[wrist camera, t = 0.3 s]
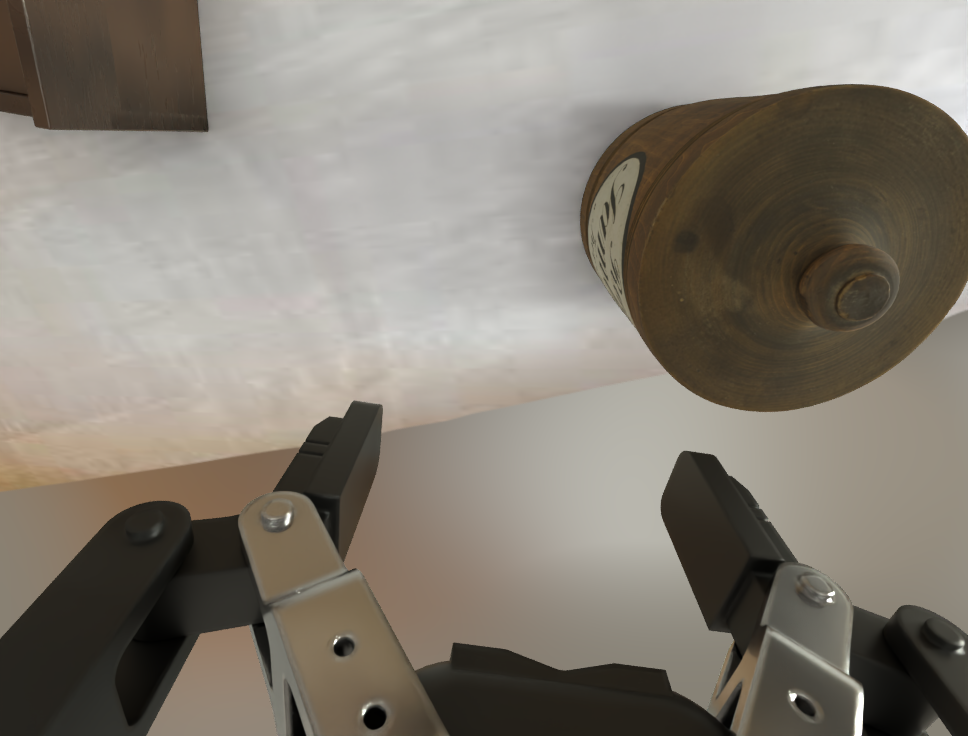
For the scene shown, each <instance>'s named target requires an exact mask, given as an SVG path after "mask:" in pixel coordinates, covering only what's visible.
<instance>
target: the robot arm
mask: <svg viewBox="0 0 968 736" xmlns="http://www.w3.org/2000/svg"><path fill="white" fill-rule="evenodd" d="M382 414H383V407H382V405H380V404H373V403H366V402H360V401H353V402H352V403H351V405H350V407H349V409H348V411H347V412H346V414H345V416H344V418H337V417H330V416H329V417H328V418H326V419H325V420H323V421H322V422H320V423H319V424H317V425H316V426H314V427H313V429H312V431H311V432H310V434H309V435H308V437H307V438H306V442H304V443H303V445H302V446H301V448H300V450H299V453H297V454H296V456H295V457H294V459H293V461H292V462H291V464H290V465H289V467H288V468H287V470H286V472H285V473H284V475H283V476H282V478H281V479H280V481H279V483H278V484H277V486H276V487H275V489H274V490H273V492H272V493H268V494H265V495H262V496H260V497H258V498H256V499H254V500H253V501H251V502H250V503H249V504H247V505H246V506H245V507H244V509H243V510H242V511H241V513H240V514H239V515H234V516H230V517H222V518H213V519H203V520H193V521H191V517H190V513H189V511H188V510H187V509H186V508H185V507H184V506H182V505H181V504H178V503H175V502H170V501H153V502H147V503H143V504H139V505H136V506H133V507H130V508H129V509H126V510H124V511H122V512H120V513H119V514H117V515H116V516H114V517H113V518H112V519H110V520H109V521H108V522H107V523H106V524H105V525H104V526H103V527H102V528H101V529H100V530H99V532H98V533H97V534H96V535H95V536H94V537H93V538H92V539H91V540H90V542H88V543H87V545H86V546H85V547H84V548H83V549H82V550H81V551H80V552H79V553H78V554H77V556H76V557H75V558H74V559H73V560H72V561H71V562H70V563H69V564H68V565H67V567H66V568H65V569H64V570H63V571H62V572H61V573H60V574H59V575H58V576H57V578H55V580H54V581H53V582H52V583H51V584H50V585H49V586H48V587H47V588H46V589H45V591H44V592H43V593H42V594H41V595H40V596H39V597H38V598H37V599H36V600H35V601H34V603H33V604H32V605H31V606H30V607H29V608H28V609H27V610H26V611H25V613H23V615H22V616H21V617H20V618H19V619H18V620H17V621H16V622H15V623H14V624H13V626H12V627H11V628H10V629H9V630H8V631H7V632H6V633H5V634H4V635H3V636H2V638H1V639H0V736H146V735H147V733H148V731H149V729H150V727H151V725H152V723H153V721H154V720H155V718H156V716H157V714H158V712H159V710H160V708H161V707H162V705H163V703H164V701H165V699H166V697H167V695H168V693H169V691H170V690H171V688H172V686H173V684H174V682H175V680H176V678H177V676H178V674H179V672H180V671H181V669H182V667H183V665H184V663H185V661H186V659H187V657H188V655H189V654H190V652H191V650H192V648H193V646H194V644H195V642H196V640H197V639H198V637H199V635H200V634H201V633H206V632H212V631H218V630H223V629H229V628H235V627H241V626H247V625H249V627H250V631H251V635H252V638H253V642H254V645H255V649H256V652H257V656H258V659H259V663H260V666H261V670H262V673H263V676H264V680H265V684H266V687H267V690H268V694H269V697H270V701H271V705H272V709H273V714H274V719H275V725H276V730H277V735H278V736H929V735H928V734H927V732H926V731H925V730H926V729H927V728H928V727H929V726H930V725H931V724H932V723H933V722H934V721H935V720H936V719H937V718H938V717H939V718H940V719H941V721H942V722H943V723H944V725H945V726H946V728H947V729H948V731H949V732H950V734H951V735H952V736H968V635H967V634H966V633H964V632H963V631H962V630H961V629H960V628H958V627H957V626H956V625H954V624H953V623H951V622H950V621H948V620H947V619H945V618H943V617H941V616H940V615H938V614H936V613H934V612H932V611H930V610H927V609H924V608H921V607H918V606H913V605H904V606H901V607H900V608H898V610H897V611H896V612H895V613H894V615H893V616H892V617H891V618H890V619H888V618H885V617H882V616H879V615H877V614H874V613H872V612H869V611H867V610H864V609H861V608H859V607H856V606H853V605H852V602H851V600H850V599H849V597H848V595H847V594H846V593H845V592H844V590H843V589H842V588H841V587H840V586H839V585H838V584H837V583H836V582H834V581H833V580H832V579H831V578H829V577H828V576H826V575H825V574H823V573H822V572H820V571H818V570H816V569H814V568H812V567H810V566H808V565H805V564H801V563H798V561H797V560H796V558H795V557H794V555H793V554H792V552H791V551H790V549H789V548H788V547H787V545H786V544H785V542H784V541H783V539H782V538H781V537H780V535H779V534H778V532H777V531H776V529H775V528H774V526H773V525H772V524H771V522H768V518H767V516H766V515H765V514H764V512H763V511H762V509H759V505H758V503H757V502H756V500H755V499H754V498H753V496H752V495H751V493H750V492H749V491H748V490H747V489H746V488H745V487H744V486H743V485H741V484H740V483H739V482H738V481H737V480H736V479H734V478H733V477H732V476H728V474H727V473H726V471H725V470H724V468H723V467H722V465H721V464H720V462H719V461H718V459H717V458H716V457H715V456H714V455H711V454H704V453H697V452H691V451H683V452H682V453H681V454H680V455H679V457H678V459H677V461H676V464H675V466H674V469H673V471H672V473H671V476H670V478H669V480H668V483H667V486H666V488H665V490H664V493H663V495H662V499H661V515H662V519H663V521H664V523H665V526H666V528H667V531H668V533H669V536H670V538H671V540H672V542H673V545H674V548H675V550H676V552H677V555H678V557H679V559H680V562H681V564H682V567H683V569H684V571H685V574H686V576H687V578H688V581H689V583H690V586H691V588H692V591H693V593H694V595H695V598H696V600H697V602H698V605H699V607H700V610H701V612H702V614H703V616H704V619H705V622H706V624H707V626H708V629H709V630H711V631H718V632H726V633H731V634H732V636H733V639H734V641H733V643H732V644H731V646H730V648H729V650H728V652H727V655H726V658H725V661H724V663H723V666H722V669H721V672H720V675H719V678H718V680H717V683H716V686H715V689H714V692H713V694H712V697H711V700H710V703H709V706H708V709H707V711H706V710H705V709H703V708H702V707H701V706H699V705H698V704H696V703H694V702H693V701H691V700H690V699H688V698H686V697H684V696H682V695H680V694H678V693H676V692H674V691H672V690H671V686H670V683H669V680H668V677H667V673H666V670H662V669H654V668H646V667H638V666H631V665H623V664H615V663H614V664H607V665H600V666H594V667H587V668H581V669H574V670H567V671H563V670H558V669H555V668H552V667H550V666H547V665H544V664H542V663H540V662H537V661H535V660H532V659H529V658H527V657H524V656H522V655H519V654H516V653H514V652H512V651H509V650H506V649H499V648H491V647H483V646H476V645H469V644H460V643H453V647H452V652H451V657H450V661H444V662H439V663H435V664H432V665H428V666H425V667H423V668H421V669H418V670H416V671H414V669H413V667H412V665H411V663H410V662H409V659H408V658H407V656H406V654H405V652H404V650H403V649H402V646H401V645H400V643H399V641H398V639H397V637H396V635H395V633H394V632H393V630H392V628H391V626H390V624H389V622H388V620H387V619H386V617H385V615H384V613H383V611H382V609H381V607H380V605H379V604H378V602H377V600H376V598H375V596H374V594H373V592H372V590H371V589H370V587H369V585H368V583H367V581H366V579H365V578H364V576H363V575H362V573H361V572H360V571H359V570H358V569H352V570H350V571H348V570H347V568H346V567H345V565H344V560H345V557H346V554H347V552H348V549H349V546H350V544H351V541H352V538H353V535H354V532H355V530H356V527H357V524H358V522H359V519H360V516H361V513H362V511H363V508H364V505H365V503H366V500H367V497H368V494H369V492H370V489H371V486H372V483H373V480H374V478H375V475H376V471H377V467H378V462H379V455H380V442H381V428H382Z"/></svg>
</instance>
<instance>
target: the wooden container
mask: <svg viewBox="0 0 968 736" xmlns="http://www.w3.org/2000/svg"><path fill="white" fill-rule="evenodd" d="M580 227H581V236H582V241H583V245H584V248H585V251H586V254H587V256H588V259H589V261H590V263H591V265H592V267H593V268H594V270H595V272H596V273H597V275H598V276H599V278H600V279H601V281H602V283H603V284H604V286H605V287H606V289H607V290H608V292H609V293H610V295H611V296H612V298H613V299H614V301H615V302H616V303H617V305H618V306H619V307H620V309H621V310H622V311H623V312H624V314H625V315H626V316H627V317H628V319H629V320H630V321H631V323H632V324H633V325H634V327H635V328H636V329H637V331H638V332H639V334H640V336H641V337H642V339H643V341H644V342H645V344H646V345H647V347H648V348H649V350H650V351H651V352H652V354H653V355H654V356H655V358H656V359H657V360H658V361H659V363H660V364H661V365H662V366H663V367H664V369H665V370H666V371H667V372H668V373H669V374H670V375H671V376H672V377H673V378H674V379H675V380H677V381H678V382H679V383H680V384H681V385H683V386H684V387H686V388H687V389H688V390H690V391H691V392H693V393H695V394H696V395H698V396H700V397H702V398H704V399H706V400H708V401H710V402H713V403H716V404H719V405H722V406H726V407H730V408H734V409H739V410H746V411H758V412H778V411H788V410H795V409H800V408H804V407H809V406H813V405H816V404H820V403H823V402H826V401H829V400H832V399H835V398H837V397H840V396H842V395H844V394H847V393H849V392H852V391H854V390H856V389H858V388H860V387H862V386H863V385H866V384H868V383H869V382H871V381H873V380H875V379H876V378H878V377H880V376H881V375H883V374H884V373H886V372H887V371H889V370H890V369H891V368H893V367H894V366H896V365H897V364H898V363H900V362H901V361H902V360H903V359H905V358H906V357H907V356H908V355H909V354H910V353H912V352H913V351H914V349H916V348H917V347H918V346H919V345H920V344H921V343H922V342H923V341H924V340H925V339H926V338H927V337H928V336H929V335H930V334H931V333H932V332H933V330H935V328H936V327H937V326H938V325H939V324H940V322H941V321H942V320H943V319H944V317H945V316H946V315H947V313H948V312H949V310H950V309H951V308H952V307H953V305H954V304H955V303H956V301H957V300H958V298H959V296H960V295H961V293H962V291H963V289H964V287H965V285H966V283H967V281H968V136H967V135H966V133H965V132H964V131H963V130H962V129H961V127H960V126H959V125H958V124H957V123H956V122H955V121H954V120H953V119H952V118H951V117H950V116H949V115H948V114H947V113H945V112H944V111H943V110H941V109H940V108H939V107H937V106H935V105H934V104H932V103H930V102H929V101H927V100H925V99H922V98H920V97H918V96H916V95H913V94H911V93H908V92H905V91H902V90H898V89H894V88H890V87H884V86H876V85H862V84H843V85H827V86H816V87H809V88H803V89H797V90H791V91H787V92H783V93H779V94H772V95H763V96H753V97H736V98H724V99H714V100H707V101H702V102H697V103H692V104H687V105H681V106H676V107H672V108H668V109H665V110H662V111H659V112H657V113H654V114H652V115H650V116H648V117H646V118H644V119H642V120H641V121H639V122H637V123H636V124H634V125H633V126H631V127H630V128H628V129H627V130H626V131H625V132H624V133H622V134H621V135H620V136H619V137H618V138H617V139H616V140H615V141H614V142H613V143H612V144H611V145H610V146H609V147H608V148H607V150H606V151H605V152H604V154H603V155H602V157H601V158H600V159H599V161H598V163H597V164H596V166H595V168H594V169H593V171H592V173H591V176H590V178H589V180H588V183H587V185H586V188H585V192H584V195H583V199H582V205H581V213H580Z"/></svg>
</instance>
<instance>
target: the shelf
mask: <svg viewBox="0 0 968 736" xmlns="http://www.w3.org/2000/svg"><path fill="white" fill-rule="evenodd" d="M0 111H1V112H6V113H12V114H18V115H24V116H30V117H33V120H34V124H35V127H38V128H44V129H49V130H108V131H183V132H208V124H207V112H206V100H205V88H204V76H203V65H202V53H201V41H200V29H199V18H198V6H197V0H0Z"/></svg>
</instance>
